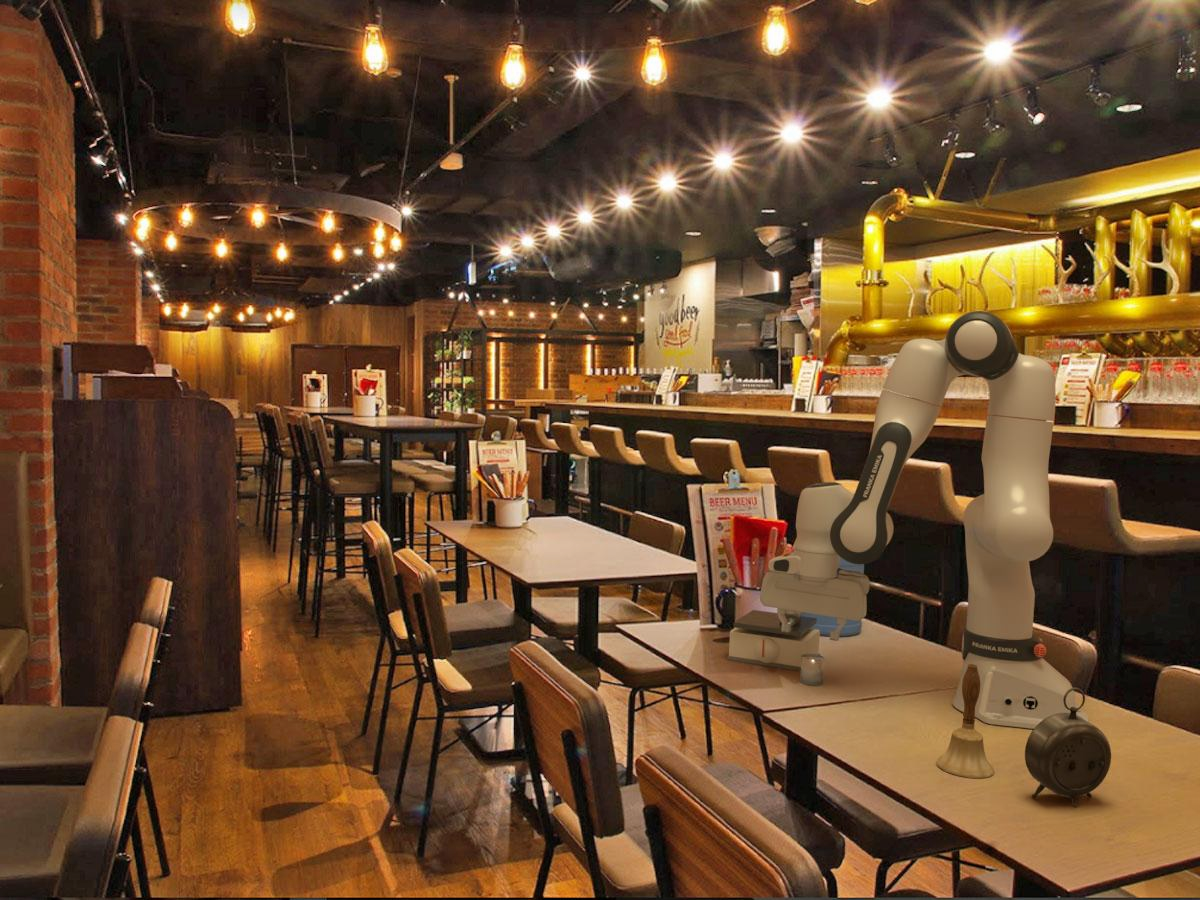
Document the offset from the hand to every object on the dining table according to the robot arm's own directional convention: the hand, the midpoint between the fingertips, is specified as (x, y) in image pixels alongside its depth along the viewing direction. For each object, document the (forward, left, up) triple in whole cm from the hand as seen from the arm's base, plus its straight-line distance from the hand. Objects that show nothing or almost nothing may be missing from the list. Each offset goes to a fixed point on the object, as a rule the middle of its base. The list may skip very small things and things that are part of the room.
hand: (809, 635), depth 193 cm
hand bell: (-32, +32, -9) cm, 46 cm away
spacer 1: (+7, -13, -1) cm, 15 cm away
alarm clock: (-46, +38, -9) cm, 60 cm away
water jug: (+6, -46, -9) cm, 47 cm away
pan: (+10, -13, -3) cm, 17 cm away
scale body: (+10, -13, -9) cm, 19 cm away
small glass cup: (-1, 0, -9) cm, 9 cm away
